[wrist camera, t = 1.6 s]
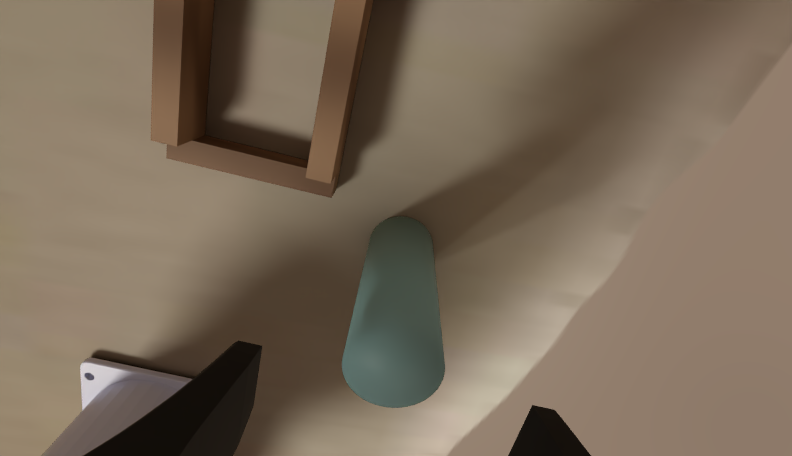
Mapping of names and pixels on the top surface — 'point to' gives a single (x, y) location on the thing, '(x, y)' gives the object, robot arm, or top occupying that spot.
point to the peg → (396, 319)
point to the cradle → (188, 92)
